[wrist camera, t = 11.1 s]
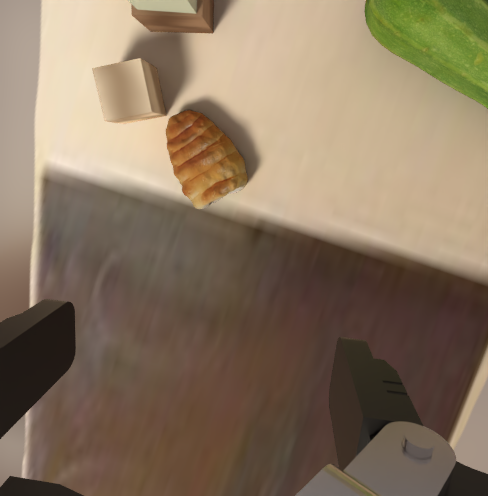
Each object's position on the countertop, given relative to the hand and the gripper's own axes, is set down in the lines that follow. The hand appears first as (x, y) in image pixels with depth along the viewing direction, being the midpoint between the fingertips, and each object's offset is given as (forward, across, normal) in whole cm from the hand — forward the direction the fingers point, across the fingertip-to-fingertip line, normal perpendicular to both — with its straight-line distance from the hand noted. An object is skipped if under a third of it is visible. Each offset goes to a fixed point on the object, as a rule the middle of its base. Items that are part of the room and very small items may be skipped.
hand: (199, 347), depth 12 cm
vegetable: (+30, -16, -15) cm, 38 cm away
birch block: (+30, +13, -10) cm, 34 cm away
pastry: (+30, +6, -4) cm, 31 cm away
